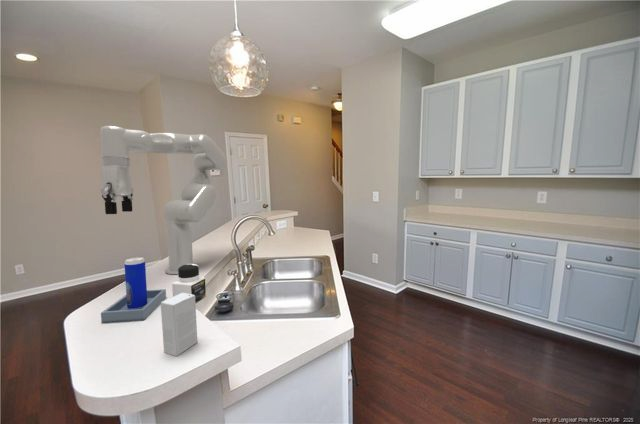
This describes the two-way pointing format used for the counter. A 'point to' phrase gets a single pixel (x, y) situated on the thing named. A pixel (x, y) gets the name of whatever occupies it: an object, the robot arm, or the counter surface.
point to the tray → (123, 314)
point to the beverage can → (135, 283)
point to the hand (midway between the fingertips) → (119, 212)
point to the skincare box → (179, 323)
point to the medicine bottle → (190, 282)
